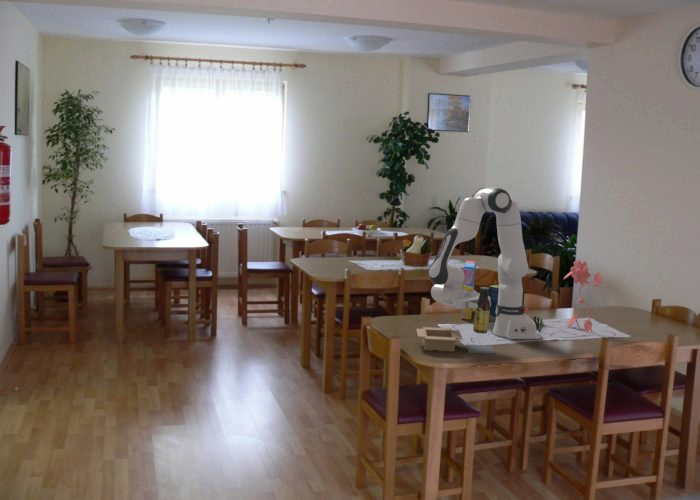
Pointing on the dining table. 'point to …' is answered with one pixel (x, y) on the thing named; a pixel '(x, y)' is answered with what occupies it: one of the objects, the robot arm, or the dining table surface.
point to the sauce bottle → (482, 312)
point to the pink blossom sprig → (581, 274)
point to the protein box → (494, 298)
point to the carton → (439, 338)
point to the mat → (480, 349)
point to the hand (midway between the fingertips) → (484, 305)
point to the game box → (468, 286)
